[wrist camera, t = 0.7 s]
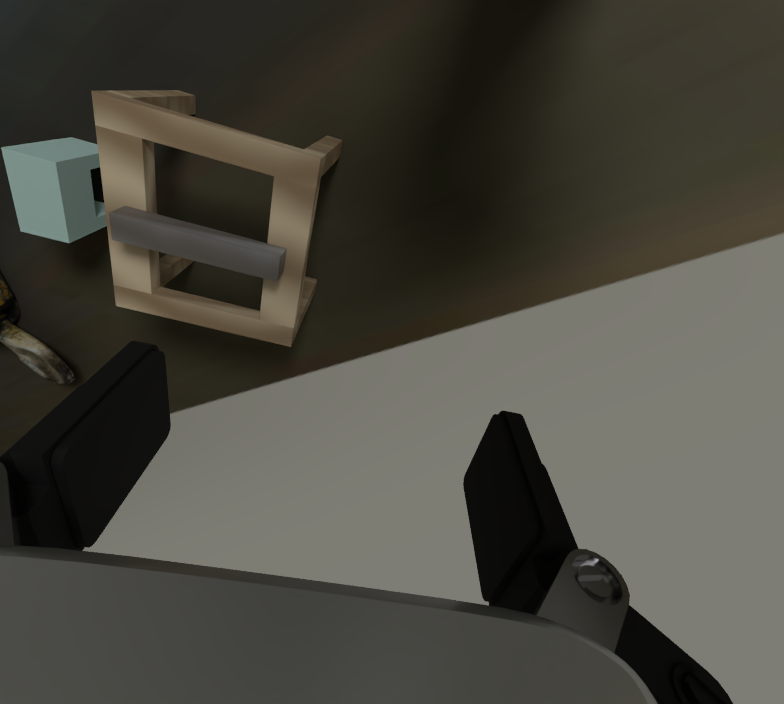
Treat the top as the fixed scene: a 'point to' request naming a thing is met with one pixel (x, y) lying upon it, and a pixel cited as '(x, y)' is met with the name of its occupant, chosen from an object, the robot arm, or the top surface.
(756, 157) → the top surface
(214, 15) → the top surface
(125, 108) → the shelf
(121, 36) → the top surface
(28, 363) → the pulley block
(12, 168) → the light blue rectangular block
